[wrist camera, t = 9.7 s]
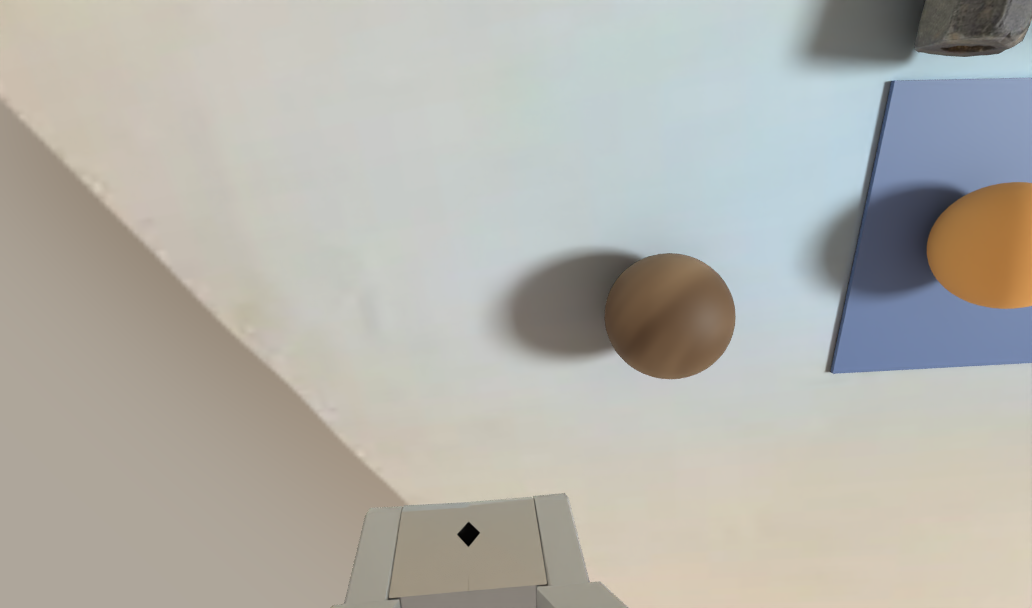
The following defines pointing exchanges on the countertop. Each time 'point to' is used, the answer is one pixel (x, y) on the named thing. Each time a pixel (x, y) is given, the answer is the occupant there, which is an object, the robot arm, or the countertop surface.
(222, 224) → the countertop surface
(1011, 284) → the orange ball
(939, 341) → the blue mark
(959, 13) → the pipe
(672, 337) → the walnut ball
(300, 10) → the countertop surface
